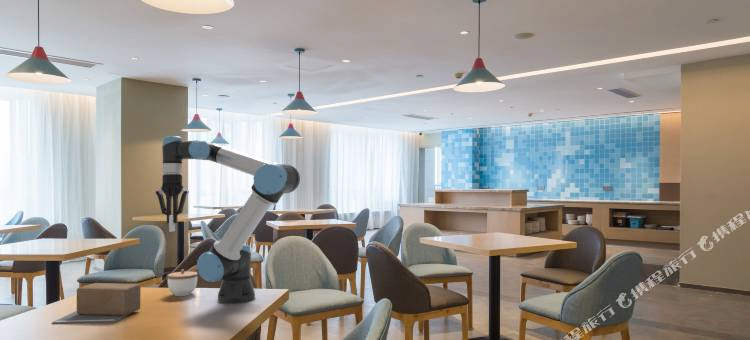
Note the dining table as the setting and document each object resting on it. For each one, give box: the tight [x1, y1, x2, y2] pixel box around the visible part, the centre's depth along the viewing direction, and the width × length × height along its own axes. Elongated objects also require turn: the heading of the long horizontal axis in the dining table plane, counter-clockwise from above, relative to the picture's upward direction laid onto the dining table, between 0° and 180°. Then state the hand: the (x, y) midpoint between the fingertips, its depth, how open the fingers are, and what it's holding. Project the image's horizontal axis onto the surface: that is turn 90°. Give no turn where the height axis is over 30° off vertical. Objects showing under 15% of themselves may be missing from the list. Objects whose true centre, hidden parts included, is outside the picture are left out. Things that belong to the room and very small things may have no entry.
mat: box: [51, 310, 134, 325], centre depth 183 cm, size 22×17×1 cm
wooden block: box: [76, 282, 141, 316], centre depth 187 cm, size 10×10×20 cm
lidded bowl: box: [166, 269, 199, 297], centre depth 220 cm, size 13×13×11 cm
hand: (172, 231), depth 204 cm, fingers closed
